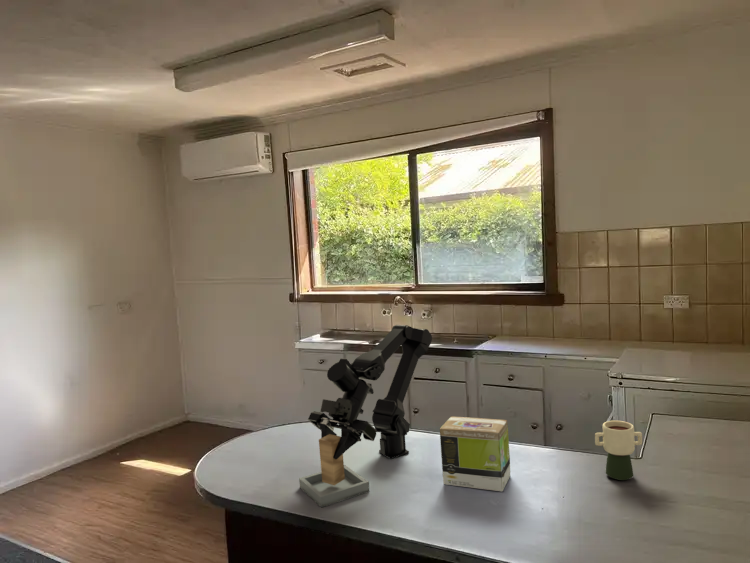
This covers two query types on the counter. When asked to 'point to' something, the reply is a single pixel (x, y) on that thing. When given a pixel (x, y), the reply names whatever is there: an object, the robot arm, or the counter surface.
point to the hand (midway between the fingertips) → (327, 457)
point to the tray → (333, 487)
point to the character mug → (618, 448)
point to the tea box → (475, 453)
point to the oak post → (331, 460)
